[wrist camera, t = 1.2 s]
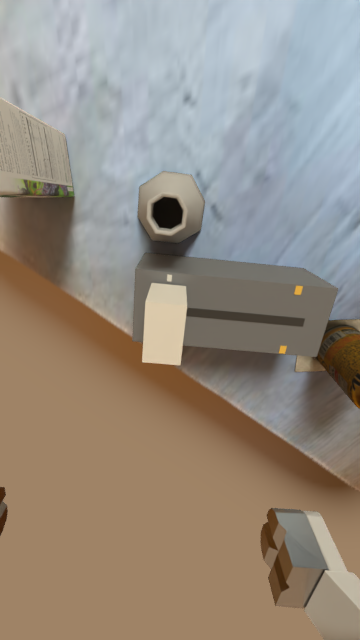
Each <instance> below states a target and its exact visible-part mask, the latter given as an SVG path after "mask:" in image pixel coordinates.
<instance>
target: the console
mask: <svg viewBox="0 0 360 640" xmlns="http://www.w3.org/2000/svg"><path fill="white" fill-rule="evenodd" d="M151 283H159V284H170V285H180V286H186V294H187V312H186V321H185V329H184V338H183V345H184V346H195V347H207V348H218V349H230V350H241V351H253V352H264V353H276V354H287V355H299V356H310V357H317V354H318V351H319V348H320V345H321V342H322V338H323V335H324V332H325V329H326V326H327V323H328V320H329V316H330V313H331V310H332V307H333V304H334V301H335V298H336V295H337V291H338V288H337V287H335V286H333V285H331V284H330V283H328V282H326V281H325V280H323V279H321V278H319V277H318V276H316V275H314V274H313V273H311V272H309V271H307V270H306V269H304V268H296V267H286V266H276V265H266V264H256V263H246V262H235V261H225V260H215V259H205V258H195V257H185V256H174V255H164V254H154V253H145V254H144V256H143V257H142V259H141V261H140V262H139V264H138V266H137V267H136V269H135V291H134V317H133V341H138V342H143V336H144V318H145V302H146V298H147V295H148V292H149V289H150V286H151Z"/></svg>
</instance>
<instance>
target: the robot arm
mask: <svg viewBox="0 0 360 640" xmlns="http://www.w3.org/2000/svg"><path fill="white" fill-rule="evenodd" d="M5 495H6V494H5V488H4V487H0V535H1V533H2V531H3V528H4V525H5V522H6V519H7V512H8V510H7V505H6V504H5V503H4V502H3V499H4V497H5ZM267 519H268V522H267V523H265V524H264V525H263V527H262V530H261V549H262V554H263V558H264V561H265V562H266V563H267V565H268V566H269V567H270V568H271V571H270V574H269V577H268V579H269V583H270V586H271V591H272V594H273V598H274V602H275V606H284V607H294V608H305V609H304V611H305V612H306V614H307V615H308V617H309V618H310V620H311V621H312V623H313V624H314V626H315V627H316V629H317V630H318V631H319V633H320V634H321V636H322V637H323V639H324V640H360V579H359V578H358V577H357V576H356V575H355V574H354V573H353V572H348V571H347V568H346V567H345V564H344V562H343V560H342V558H341V556H340V554H339V552H338V550H337V547H336V545H335V543H334V541H333V539H332V537H331V535H330V533H329V531H328V529H327V526H326V524H325V522H324V520H323V518H322V516H321V515H320V514H319V513H318V512H316V511H301V510H294V509H278V508H271V509H269V511H268V514H267Z"/></svg>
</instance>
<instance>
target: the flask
mask: <svg viewBox="0 0 360 640" xmlns="http://www.w3.org/2000/svg"><path fill="white" fill-rule="evenodd" d="M204 205H205V200H204V198H203V196H202V194H201V192H200V190H199V188H198V186H197V184H196V182H195V180H194V178H193V176H192V175H189V174H182V173H174V172H167V171H163V172H161V173H160V174H158V175H156V176H155V177H153V178H152V179H150V180H149V181H147V182H146V183H144V184H143V185H141V186H140V187H139V201H138V218H139V219H140V221H141V223H142V224H143V226H144V228H145V229H146V231H147V233H148V234H149V236H150V238H151V239H152V240H154V241H162V242H170V243H180V242H181V241H183V240H185V239H186V238H188V237H190V236H191V235H193V234H195V233H197V232H198V231H200V230H201V226H202V219H203V212H204Z"/></svg>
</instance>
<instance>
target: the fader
mask: <svg viewBox="0 0 360 640" xmlns="http://www.w3.org/2000/svg"><path fill="white" fill-rule="evenodd" d="M186 312H187V294H186V286H180V285H170V284H159V283H151V286H150V289H149V292H148V295H147V298H146V302H145V318H144V336H143V355H142V362H146V363H158V364H169V365H181V356H182V347H183V338H184V329H185V321H186Z"/></svg>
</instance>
